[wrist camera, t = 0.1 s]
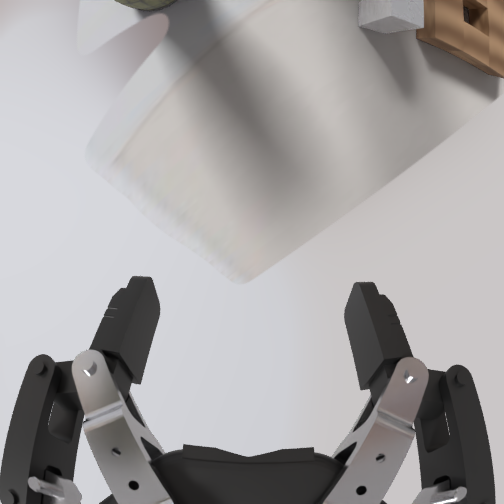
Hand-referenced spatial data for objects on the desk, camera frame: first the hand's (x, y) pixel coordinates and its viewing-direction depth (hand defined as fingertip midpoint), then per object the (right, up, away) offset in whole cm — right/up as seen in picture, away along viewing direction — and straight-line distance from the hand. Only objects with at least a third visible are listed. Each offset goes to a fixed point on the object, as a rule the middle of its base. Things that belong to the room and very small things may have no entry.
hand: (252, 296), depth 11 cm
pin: (+16, +32, +12) cm, 38 cm away
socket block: (+31, +37, +8) cm, 49 cm away
